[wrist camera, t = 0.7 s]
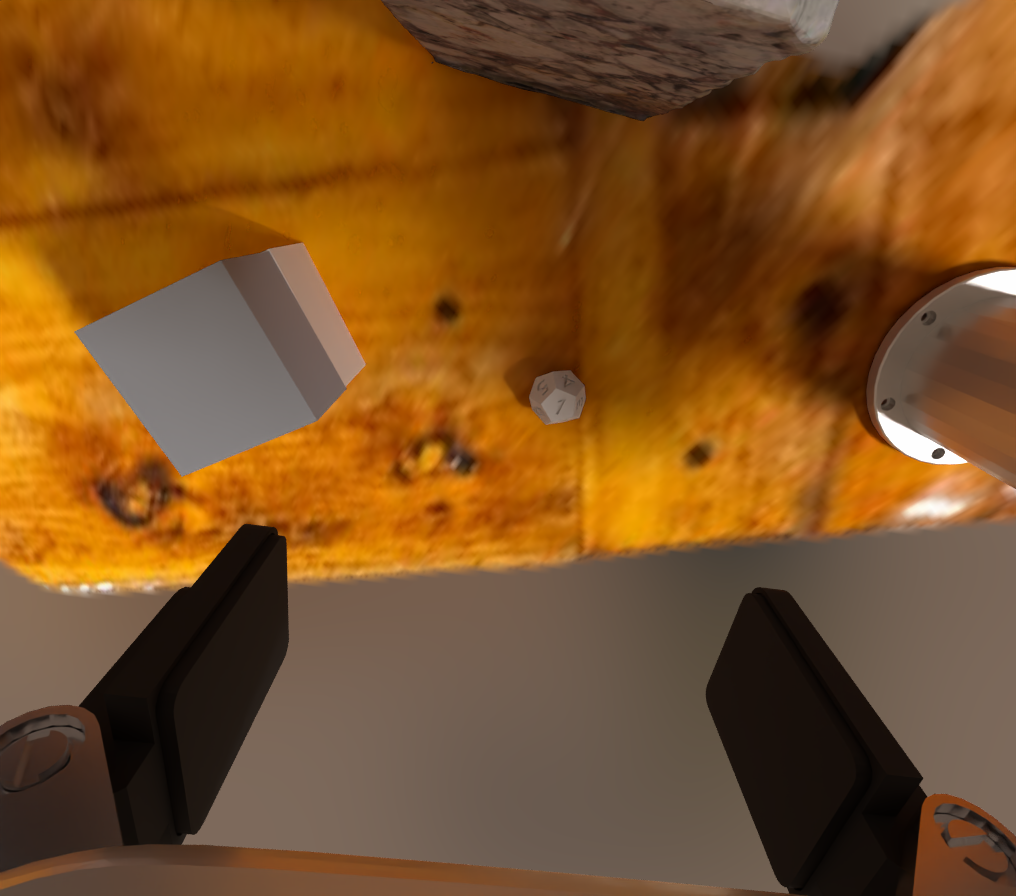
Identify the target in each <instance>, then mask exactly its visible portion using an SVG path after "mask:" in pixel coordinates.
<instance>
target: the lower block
mask: <svg viewBox="0 0 1016 896" xmlns="http://www.w3.org/2000/svg"><path fill="white" fill-rule="evenodd" d="M267 251H269V252H270V254H271V255H272V257H273V259H274V261H275V263H276V264H277V266H278V268H279V270H280V271H281V273H282V275H283V277H284V278H285V280H286V282H287V284H288V286H289V287H290V289H291V291H292V293H293V294H294V296H295V298H296V300H297V302H298V303H299V305H300V307H301V309H302V310H303V312H304V314H305V316H306V318H307V319H308V321H309V323H310V325H311V326H312V328H313V330H314V332H315V334H316V335H317V337H318V339H319V341H320V342H321V344H322V346H323V348H324V349H325V351H326V353H327V355H328V357H329V358H330V360H331V362H332V364H333V365H334V367H335V369H336V371H337V373H338V374H339V376H340V378H341V380H342V381H343V383H344V385H345V387H346V386H347V385H348V383H349V382H350V381H351V380H352V379H353V378H354V377H355V376H356V375H357V374H358V373H359V372H360V371H361V369H362V368H363V367H364V366H365V365H366V364H365V362H364V360H363V358H362V356H361V354H360V352H359V350H358V348H357V346H356V344H355V342H354V340H353V338H352V336H351V335H350V333H349V331H348V329H347V327H346V325H345V323H344V321H343V319H342V317H341V315H340V313H339V311H338V309H337V307H336V305H335V303H334V302H333V300H332V298H331V296H330V294H329V292H328V290H327V288H326V286H325V284H324V282H323V280H322V278H321V276H320V274H319V272H318V270H317V268H316V267H315V265H314V263H313V261H312V259H311V257H310V255H309V253H308V251H307V249H306V247H305V245H304V243H297V244H292V245H286V246H281V247H276V248H270V249H267V250H265V251H263V252H267ZM261 253H262V252H261Z"/></svg>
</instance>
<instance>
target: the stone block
mask: <svg viewBox="0 0 1016 896" xmlns="http://www.w3.org/2000/svg"><path fill="white" fill-rule="evenodd" d="M381 1H382V2H383V3H384V5H385V6H386V7H387V8H388V9H389V10H390V11H391V12H392V14H393V15H394V16H395V18H396V19H398V21H399V22H400V23H401V24H402V25H403V27H404V28H406V29H407V30H408V31H409V32H410V33H411V35H412V36H414V37H415V38H416V39H417V40H418V41H419V43H420V44H421V45H422V46H423V47H425V49H427V50H428V51H429V52H430V53H431V54H432V55H433V56H434V59H435V61H436V62H438V63H441V64H444V65H447V66H450V67H452V68H455V69H458V70H460V71H463V72H467V73H472V74H477V75H480V76H482V77H485V78H488V79H491V80H494V81H497V82H500V83H503V84H506V85H510V86H514V87H517V88H521V89H524V90H528V91H534V92H539V93H544V94H548V95H551V96H555V97H559V98H562V99H566V100H569V101H573V102H576V103H580V104H584V105H587V106H591V107H594V108H598V109H601V110H604V111H607V112H611V113H615V114H620V115H624V116H627V117H630V118H633V119H637V120H641V121H644V120H645V119H646V118H648V117H652V116H655V115H659V114H665V113H668V112H669V111H671V110H673V109H675V108H683V107H684V106H686V105H687V104H688V103H691V102H693V101H694V100H695V99H696V98H701V97H703V96H705V95H708V94H709V93H710V92H711V91H712V89H717V88H723V87H725V86H727V85H729V84H730V83H731V82H732V81H733V79H737V78H742V77H745V76H749V75H753V74H755V73H756V72H757V71H758V70H759V68H760V67H761V66H762V65H763V64H764V63H766V62H770V61H773V60H782V59H785V58H787V57H788V56H790V55H802V54H805V53H809V52H811V51H813V50H814V49H815V48H817V47H818V46H819V45H820V44H821V43H822V42H823V41H824V40H825V38H826V37H827V35H828V34H829V31H830V28H831V24H832V20H833V17H834V13H835V10H836V8H837V5H838V3H839V0H381ZM432 63H433V62H432Z"/></svg>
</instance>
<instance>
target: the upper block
mask: <svg viewBox="0 0 1016 896" xmlns="http://www.w3.org/2000/svg"><path fill="white" fill-rule="evenodd" d="M75 333H76V335H77V336H78V337H79V339H80V340H81V341H82V343H83V344H84V345H85V347H86V348H87V350H88V351H89V352H90V354H91V355H92V356H93V358H94V359H95V360H96V362H97V363H98V364H99V366H100V367H101V368H102V370H103V371H104V372H105V374H106V375H107V376H108V378H109V379H110V380H111V382H112V383H113V384H114V386H115V387H116V388H117V390H118V391H119V393H120V394H121V395H122V397H123V398H124V399H125V401H126V402H127V403H128V405H129V406H130V407H131V409H132V410H133V411H134V413H135V414H136V415H137V417H138V418H139V419H140V421H141V422H142V423H143V425H144V426H145V427H146V429H147V430H148V432H149V433H150V434H151V436H152V437H153V438H154V440H155V441H156V442H157V444H158V445H159V446H160V448H161V449H162V450H163V452H164V453H165V454H166V456H167V457H168V458H169V460H170V461H171V462H172V464H173V465H174V466H175V468H176V469H177V470H178V472H179V473H180V475H181V476H185V475H187V474H189V473H192V472H194V471H197V470H199V469H202V468H204V467H206V466H209V465H211V464H214V463H216V462H219V461H221V460H223V459H226V458H228V457H231V456H233V455H236V454H238V453H240V452H243V451H245V450H248V449H250V448H252V447H255V446H257V445H260V444H262V443H265V442H267V441H269V440H272V439H274V438H277V437H279V436H282V435H284V434H286V433H289V432H291V431H294V430H296V429H299V428H301V427H303V426H306V425H308V424H311V423H313V422H315V421H318V419H319V418H320V417H321V416H322V415H323V414H324V413H325V412H326V411H327V410H328V409H329V407H330V406H331V405H332V404H333V403H334V402H335V401H336V400H337V399H338V398H339V396H340V395H341V394H342V393H343V392H344V391H345V390H346V387H345V385H344V383H343V381H342V380H341V378H340V376H339V374H338V373H337V371H336V369H335V367H334V365H333V364H332V362H331V360H330V358H329V357H328V355H327V353H326V351H325V349H324V348H323V346H322V344H321V342H320V341H319V339H318V337H317V335H316V334H315V332H314V330H313V328H312V326H311V325H310V323H309V321H308V319H307V318H306V316H305V314H304V312H303V310H302V309H301V307H300V305H299V303H298V302H297V300H296V298H295V296H294V294H293V293H292V291H291V289H290V287H289V286H288V284H287V282H286V280H285V278H284V277H283V275H282V273H281V271H280V270H279V268H278V266H277V264H276V263H275V261H274V259H273V257H272V255H271V254H270V252H269V251H267V252H262V253H257V254H251V255H246V256H241V257H236V258H230V259H225V260H220V261H218V262H216V263H214V264H212V265H210V266H208V267H206V268H204V269H202V270H200V271H198V272H196V273H194V274H192V275H190V276H188V277H186V278H184V279H181V280H179V281H177V282H175V283H173V284H171V285H169V286H167V287H165V288H163V289H161V290H159V291H157V292H155V293H153V294H151V295H149V296H147V297H145V298H143V299H140V300H138V301H136V302H134V303H132V304H130V305H128V306H126V307H124V308H122V309H120V310H118V311H116V312H114V313H112V314H110V315H108V316H106V317H104V318H101V319H99V320H97V321H95V322H93V323H91V324H89V325H87V326H85V327H83V328H81V329H79V330H77V331H75Z"/></svg>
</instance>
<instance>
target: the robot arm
mask: <svg viewBox="0 0 1016 896" xmlns="http://www.w3.org/2000/svg"><path fill="white" fill-rule="evenodd" d="M866 395H867V408H868V411H869V415H870V418H871V421H872V423H873V425H874V427H875V428H876V430H877V431H878V433H879V435H880V436H881V437H882V438H883V439H884V440H885V441H886V442H887V443H888V444H890V445H891V446H892V447H894V448H895V449H897V450H898V451H900V452H901V453H903V454H904V455H907V456H909V457H911V458H914V459H916V460H918V461H922V462H926V463H931V464H951V465H954V464H961V463H968V462H969V463H971V464H973V465H974V466H976V467H978V468H980V469H981V470H983V471H985V472H987V473H988V474H990V475H992V476H994V477H995V478H997V479H999V480H1001V481H1002V482H1004V483H1006V484H1008V485H1009V486H1011V487H1013V488H1015V489H1016V267H994V268H988V269H982V270H977V271H974V272H971V273H968V274H965V275H962V276H960V277H957V278H954V279H952V280H950V281H949V282H947V283H945V284H943V285H941V286H939V287H937V288H935V289H934V290H932V291H931V292H930V293H928V294H927V295H925V296H924V297H923V298H921V299H920V300H919V301H917V302H916V303H915V304H914V305H913V306H912V307H911V308H910V309H909V310H908V311H907V312H905V313H904V314H903V315H902V316H901V317H900V318H899V319H898V321H897V322H896V323H895V325H894V326H893V327H892V329H891V330H890V331H889V332H888V334H887V335H886V336H885V338H884V340H883V342H882V344H881V345H880V347H879V349H878V351H877V353H876V354H875V357H874V360H873V363H872V366H871V369H870V372H869V376H868V383H867V390H866ZM287 590H288V588H287V546H286V538H285V537H284V536H279V535H278V532H277V529H276V528H274V527H268V526H260V525H251V524H244V525H243V526H242V527H240V529H239V530H238V531H237V532H236V534H235V535H234V536H233V537H232V538H231V540H230V541H229V542H228V543H227V544H226V546H225V547H224V548H223V549H222V550H221V552H220V553H219V554H218V555H217V557H216V558H215V559H214V560H213V561H212V563H211V564H210V565H209V566H208V567H207V569H206V570H205V571H204V572H203V573H202V575H201V576H200V577H199V578H198V580H197V581H196V582H195V583H194V584H193V586H192V587H184V588H182V589H180V590H178V591H177V592H176V593H175V594H174V595H173V596H172V597H171V599H170V600H169V601H168V602H167V603H166V605H165V606H164V607H163V608H162V609H161V610H160V612H159V613H158V614H157V615H156V616H155V618H154V619H153V620H152V621H151V622H150V623H149V624H148V626H147V627H146V628H145V629H144V630H143V631H142V633H141V634H140V635H139V636H138V637H137V639H136V640H135V641H134V642H133V643H132V644H131V645H130V647H129V648H128V649H127V650H126V651H125V652H124V654H123V655H122V656H121V657H120V658H119V660H118V661H117V662H116V663H115V664H114V666H113V667H112V668H111V669H110V670H109V671H108V672H107V674H106V675H105V676H104V677H103V678H102V679H101V681H100V682H99V683H98V684H97V685H96V687H95V688H94V689H93V690H92V691H91V692H90V693H89V695H88V696H87V697H86V698H85V699H84V700H83V702H82V703H81V704H80V705H79V706H72V705H59V706H48V707H45V708H41V709H38V710H34V711H30V712H27V713H25V714H23V715H20V716H18V717H16V718H14V719H12V720H9V721H7V722H6V723H4V724H3V725H1V726H0V896H1016V836H1015V835H1014V834H1013V833H1012V832H1011V831H1010V830H1008V829H1007V828H1006V827H1005V826H1004V825H1003V824H1002V823H1000V822H999V821H998V820H997V819H995V818H994V817H993V816H991V815H989V814H988V813H987V812H985V811H984V810H983V809H981V808H980V807H978V806H976V805H974V804H972V803H970V802H968V801H966V800H964V799H962V798H958V797H955V796H951V795H948V794H933V795H931V796H929V797H927V796H926V794H925V793H924V791H923V790H922V789H921V787H920V786H919V784H920V782H921V781H922V780H923V777H922V776H921V774H920V773H919V771H918V770H917V769H916V767H915V766H914V765H913V763H912V762H911V761H910V759H909V758H908V756H907V755H906V753H905V752H904V751H903V749H902V748H901V747H900V745H899V744H898V742H897V741H896V740H895V738H894V737H893V736H892V734H891V733H890V731H889V730H888V729H887V727H886V726H885V724H884V723H883V722H882V720H881V719H880V717H879V716H878V715H877V713H876V712H875V711H874V709H873V708H872V707H871V705H870V704H869V702H868V701H867V700H866V698H865V697H864V695H863V694H862V693H861V691H860V690H859V688H858V687H857V686H856V684H855V683H854V681H853V680H852V679H851V677H850V676H849V675H848V673H847V672H846V671H845V669H844V668H843V666H842V665H841V664H840V662H839V661H838V659H837V658H836V657H835V655H834V654H833V652H832V651H831V650H830V649H829V647H828V645H827V644H826V643H825V641H824V640H823V639H822V637H821V636H820V634H819V633H818V632H817V630H816V629H815V628H814V626H813V625H812V623H811V622H810V621H809V619H808V618H807V616H806V615H805V614H804V612H803V611H802V610H801V608H800V607H799V605H798V604H797V603H796V601H795V600H794V598H793V597H792V596H791V595H790V594H789V593H788V592H787V591H785V590H778V589H769V588H761V587H759V588H755V589H754V590H753V591H752V593H748V594H746V595H745V596H744V598H743V600H742V602H741V604H740V607H739V609H738V612H737V614H736V617H735V619H734V622H733V624H732V626H731V629H730V631H729V634H728V636H727V639H726V641H725V643H724V646H723V648H722V651H721V653H720V655H719V658H718V660H717V663H716V665H715V668H714V670H713V673H712V675H711V677H710V680H709V682H708V684H707V688H706V701H707V705H708V708H709V710H710V713H711V715H712V718H713V720H714V723H715V725H716V728H717V730H718V733H719V736H720V738H721V740H722V743H723V746H724V748H725V750H726V753H727V756H728V758H729V761H730V763H731V766H732V768H733V771H734V773H735V776H736V778H737V781H738V783H739V786H740V788H741V791H742V793H743V796H744V798H745V801H746V803H747V806H748V808H749V811H750V814H751V816H752V819H753V821H754V824H755V826H756V829H757V831H758V833H759V836H760V839H761V841H762V844H763V846H764V849H765V851H766V854H767V856H768V859H769V861H770V864H771V866H772V869H773V871H774V874H775V876H776V878H777V880H778V881H779V882H780V884H781V885H782V886H784V887H787V889H788V891H789V894H785V893H775V892H765V891H754V890H743V889H733V888H722V887H711V886H700V885H689V884H680V883H669V882H658V881H648V880H637V879H625V878H613V877H603V876H591V875H581V874H569V873H558V872H546V871H535V870H523V869H512V868H500V867H489V866H478V865H466V864H454V863H442V862H430V861H418V860H406V859H393V858H381V857H369V856H357V855H344V854H333V853H332V854H331V853H320V852H308V851H292V850H276V849H260V848H245V847H244V848H243V847H229V846H213V845H181V844H182V843H183V841H184V839H185V837H186V835H187V834H192V835H194V834H196V833H197V832H198V831H199V830H200V828H201V826H202V824H203V823H204V820H205V819H206V817H207V815H208V813H209V810H210V808H211V807H212V804H213V802H214V800H215V798H216V796H217V794H218V792H219V790H220V788H221V786H222V784H223V782H224V780H225V778H226V776H227V774H228V772H229V770H230V768H231V766H232V764H233V762H234V760H235V758H236V756H237V754H238V751H239V750H240V747H241V746H242V743H243V741H244V739H245V737H246V735H247V733H248V731H249V729H250V727H251V725H252V723H253V721H254V719H255V717H256V715H257V713H258V711H259V709H260V707H261V705H262V703H263V701H264V699H265V696H266V694H267V693H268V691H269V689H270V687H271V685H272V682H273V680H274V678H275V676H276V674H277V672H278V670H279V668H280V666H281V664H282V662H283V660H284V658H285V655H286V652H287V648H288V642H289V630H288V591H287Z"/></svg>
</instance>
